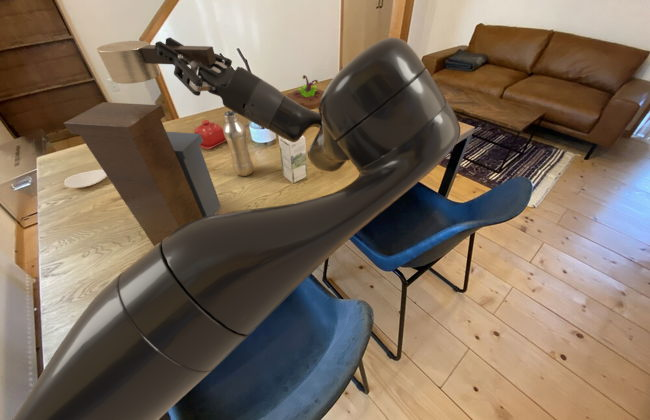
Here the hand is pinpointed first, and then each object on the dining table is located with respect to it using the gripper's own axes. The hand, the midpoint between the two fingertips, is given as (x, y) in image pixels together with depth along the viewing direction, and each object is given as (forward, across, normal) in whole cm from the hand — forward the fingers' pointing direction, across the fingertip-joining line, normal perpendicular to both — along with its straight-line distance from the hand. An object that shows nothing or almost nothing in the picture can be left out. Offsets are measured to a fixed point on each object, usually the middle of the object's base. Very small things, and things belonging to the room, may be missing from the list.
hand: (161, 45), depth 47 cm
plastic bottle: (-19, -21, +37) cm, 46 cm away
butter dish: (-1, -39, +47) cm, 61 cm away
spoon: (+15, -16, +56) cm, 60 cm away
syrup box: (-33, -21, +28) cm, 49 cm away
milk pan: (-1, 0, +5) cm, 5 cm away
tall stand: (-14, +8, +40) cm, 42 cm away
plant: (-26, -85, +32) cm, 95 cm away
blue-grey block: (-13, -1, +40) cm, 42 cm away
